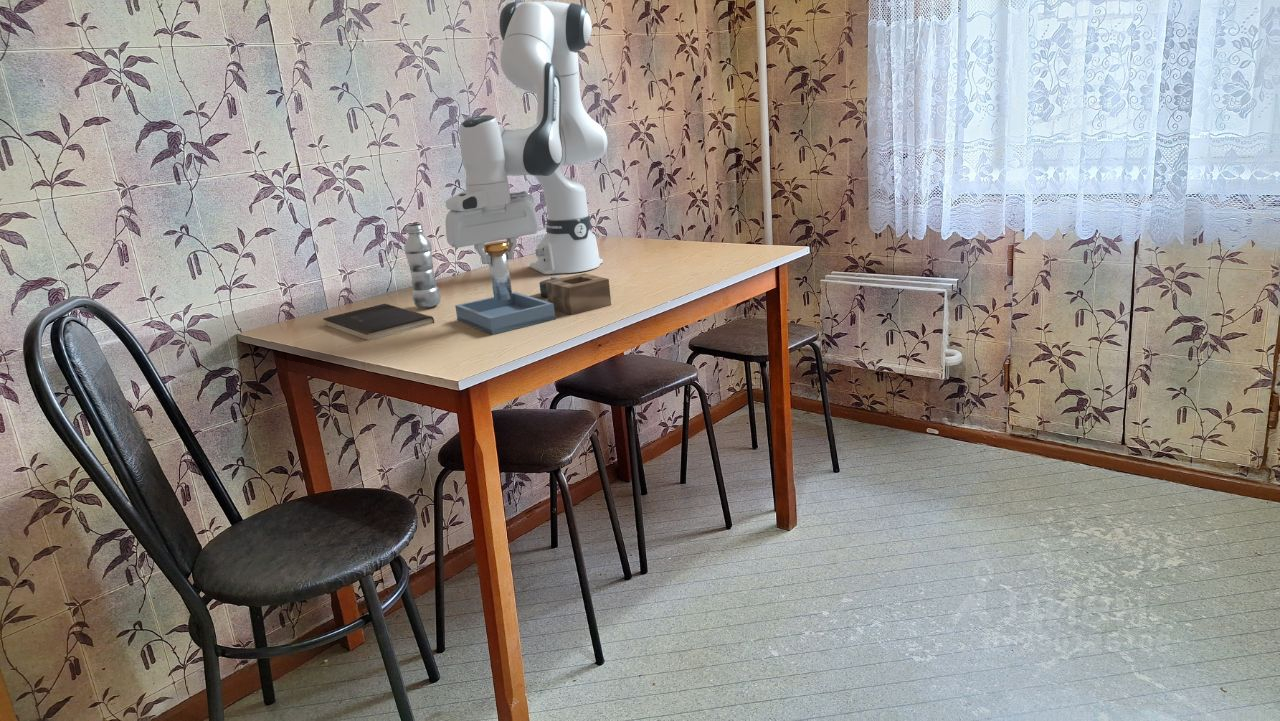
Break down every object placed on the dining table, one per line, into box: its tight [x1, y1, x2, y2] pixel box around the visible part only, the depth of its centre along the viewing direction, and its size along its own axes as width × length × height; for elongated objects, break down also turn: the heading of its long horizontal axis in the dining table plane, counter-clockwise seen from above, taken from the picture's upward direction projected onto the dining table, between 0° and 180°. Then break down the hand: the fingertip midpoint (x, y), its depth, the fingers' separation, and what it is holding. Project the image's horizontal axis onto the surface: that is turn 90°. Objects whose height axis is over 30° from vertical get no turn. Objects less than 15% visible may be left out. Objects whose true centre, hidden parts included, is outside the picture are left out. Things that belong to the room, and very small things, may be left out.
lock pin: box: [483, 240, 513, 300], centre depth 179 cm, size 5×5×12 cm
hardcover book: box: [322, 303, 435, 341], centre depth 189 cm, size 16×23×2 cm
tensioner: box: [529, 272, 612, 316], centre depth 192 cm, size 19×10×6 cm, turn 35°
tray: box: [454, 291, 556, 336], centre depth 182 cm, size 18×15×4 cm
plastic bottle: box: [403, 223, 441, 309], centre depth 198 cm, size 6×7×20 cm
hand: (498, 261), depth 179 cm, fingers closed on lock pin, 4 cm apart
